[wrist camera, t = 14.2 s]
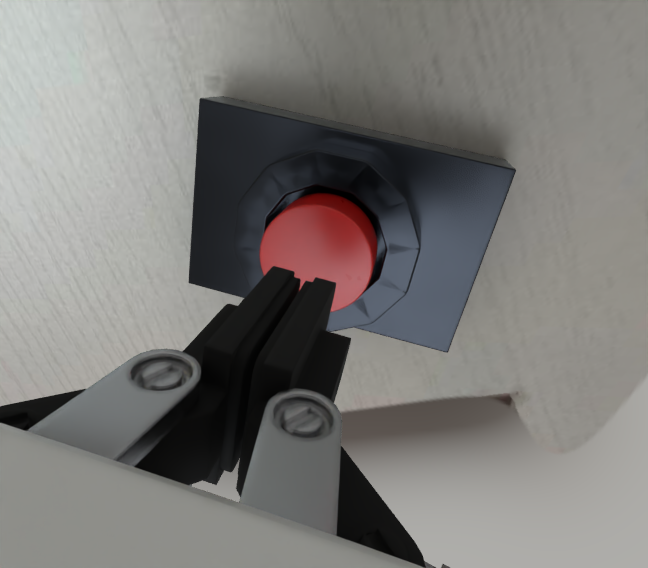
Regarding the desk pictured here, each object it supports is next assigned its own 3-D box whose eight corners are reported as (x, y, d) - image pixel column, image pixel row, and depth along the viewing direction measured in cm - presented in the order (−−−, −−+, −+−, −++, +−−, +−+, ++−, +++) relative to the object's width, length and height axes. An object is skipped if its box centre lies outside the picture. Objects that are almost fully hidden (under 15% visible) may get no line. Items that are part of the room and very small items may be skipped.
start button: (389, 207, 16) (385, 220, 14) (364, 304, 18) (358, 325, 16) (281, 181, 16) (266, 191, 15) (267, 278, 18) (252, 297, 17)
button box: (506, 159, 18) (526, 179, 14) (445, 328, 21) (450, 377, 18) (222, 95, 19) (176, 100, 16) (208, 265, 23) (168, 300, 19)
